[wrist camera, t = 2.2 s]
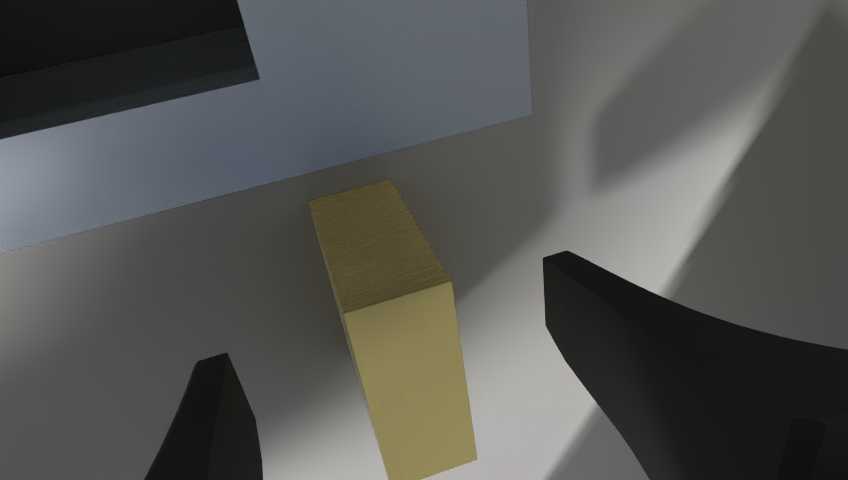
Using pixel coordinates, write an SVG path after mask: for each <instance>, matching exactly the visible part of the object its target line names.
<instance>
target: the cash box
mask: <svg viewBox="0 0 848 480" xmlns="http://www.w3.org/2000/svg"><path fill="white" fill-rule="evenodd" d="M237 2H238V5H239V9H240V12H241V15H242V19H243V22H244V25H243V26H238V27H234V28H229V29H224V30H220V31H215V32H210V33H206V34H201V35H196V36H192V37H187V38H182V39H178V40H173V41H168V42H164V43H159V44H155V45H150V46H145V47H141V48H136V49H131V50H127V51H122V52H117V53H113V54H108V55H103V56H99V57H94V58H89V59H85V60H80V61H75V62H71V63H66V64H61V65H57V66H52V67H47V68H43V69H38V70H33V71H29V72H24V73H20V74H15V75H10V76H6V77H1V78H0V253H3V252H7V251H11V250H15V249H19V248H23V247H26V246H30V245H34V244H38V243H42V242H46V241H49V240H53V239H57V238H61V237H65V236H69V235H72V234H76V233H80V232H84V231H88V230H92V229H96V228H99V227H103V226H107V225H111V224H115V223H119V222H122V221H126V220H130V219H134V218H138V217H142V216H146V215H149V214H153V213H157V212H161V211H165V210H169V209H172V208H176V207H180V206H184V205H188V204H192V203H195V202H199V201H203V200H207V199H211V198H215V197H219V196H222V195H226V194H230V193H234V192H238V191H242V190H245V189H249V188H253V187H257V186H261V185H265V184H268V183H272V182H276V181H280V180H284V179H288V178H292V177H295V176H299V175H303V174H307V173H311V172H315V171H318V170H322V169H326V168H330V167H334V166H338V165H342V164H345V163H349V162H353V161H357V160H361V159H365V158H368V157H372V156H376V155H380V154H384V153H388V152H391V151H395V150H399V149H403V148H407V147H411V146H415V145H418V144H422V143H426V142H430V141H434V140H438V139H441V138H445V137H449V136H453V135H457V134H461V133H464V132H468V131H472V130H476V129H480V128H484V127H488V126H491V125H495V124H499V123H503V122H507V121H511V120H514V119H518V118H522V117H526V116H530V115H532V96H531V76H530V55H529V35H528V14H527V0H237Z"/></svg>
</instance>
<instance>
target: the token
mask: <svg viewBox="0 0 848 480" xmlns="http://www.w3.org/2000/svg"><path fill="white" fill-rule="evenodd" d="M308 204H309V207H310V211H311V214H312V218H313V222H314V225H315V229H316V232H317V236H318V240H319V243H320V247H321V250H322V254H323V258H324V261H325V265H326V268H327V272H328V276H329V279H330V283H331V286H332V290H333V294H334V297H335V301H336V304H337V308H338V311H339V315H340V319H341V322H342V326H343V329H344V333H345V337H346V340H347V344H348V347H349V351H350V355H351V358H352V361H353V365H354V368H355V371H356V375H357V378H358V381H359V384H360V388H361V391H362V394H363V398H364V401H365V404H366V407H367V411H368V414H369V417H370V421H371V424H372V427H373V430H374V434H375V437H376V440H377V443H378V447H379V450H380V453H381V457H382V460H383V463H384V466H385V470H386V473H387V476H388V480H421V479H424V478H426V477H429V476H432V475H435V474H438V473H440V472H443V471H446V470H449V469H452V468H454V467H457V466H460V465H463V464H466V463H468V462H471V461H474V460H477V452H476V446H475V439H474V432H473V425H472V418H471V411H470V404H469V397H468V391H467V384H466V377H465V370H464V363H463V356H462V349H461V343H460V336H459V329H458V322H457V315H456V308H455V301H454V294H453V288H452V281H451V280H450V278H449V276H448V275H447V273H446V271H445V270H444V268H443V266H442V265H441V263H440V261H439V260H438V258H437V256H436V255H435V253H434V251H433V250H432V248H431V246H430V245H429V243H428V241H427V240H426V238H425V236H424V235H423V233H422V231H421V230H420V228H419V226H418V225H417V223H416V221H415V220H414V218H413V216H412V215H411V213H410V211H409V210H408V208H407V206H406V205H405V203H404V201H403V200H402V198H401V196H400V195H399V193H398V191H397V190H396V188H395V186H394V185H393V183H392V181H391V180H390V179H389V180H385V181H381V182H378V183H374V184H370V185H366V186H363V187H359V188H355V189H351V190H348V191H344V192H340V193H337V194H333V195H329V196H325V197H322V198H318V199H314V200H310V201H308Z"/></svg>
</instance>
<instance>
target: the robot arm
mask: <svg viewBox="0 0 848 480" xmlns="http://www.w3.org/2000/svg"><path fill="white" fill-rule="evenodd" d="M543 276H544V298H545V321H546V327H547V329H548V331H549V333H550V334H551V336H552V338H553V340H554V342H555V344H556V345H557V347H558V349H559V351H560V352H561V354H562V356H563V357H564V359H565V361H566V362H567V364H568V365H569V366H570V368H571V369H572V370H573V372H574V373H575V374H576V376H577V377H578V378H579V380H580V381H581V382H582V384H583V385H584V386H585V388H586V389H587V390H588V392H589V393H590V394H591V396H592V397H593V398H594V400H595V401H596V402H597V404H598V405H599V406H600V407H601V409H602V410H603V411H604V413H605V414H606V415H607V416H608V418H609V419H610V421H611V422H612V423H613V425H614V426H615V427H616V428H617V430H618V431H619V432H620V433H621V435H622V437H623V438H624V439H625V441H626V442H627V444H628V445H629V447H630V448H631V450H632V451H633V453H634V454H635V456H636V458H637V459H638V461H639V462H640V464H641V466H642V468H643V469H644V471H645V472H646V474H647V476H648V478H649V479H650V480H848V350H846V349H840V348H834V347H829V346H823V345H818V344H813V343H808V342H803V341H798V340H794V339H789V338H785V337H780V336H777V335H773V334H769V333H765V332H761V331H757V330H754V329H750V328H747V327H743V326H740V325H736V324H733V323H730V322H727V321H724V320H721V319H718V318H715V317H712V316H709V315H706V314H703V313H701V312H698V311H695V310H693V309H690V308H687V307H685V306H683V305H680V304H678V303H675V302H673V301H671V300H668V299H666V298H663V297H661V296H659V295H657V294H655V293H652V292H650V291H648V290H646V289H644V288H641V287H639V286H637V285H635V284H633V283H631V282H629V281H627V280H625V279H623V278H621V277H619V276H617V275H615V274H613V273H611V272H609V271H607V270H605V269H603V268H601V267H599V266H597V265H595V264H593V263H592V262H590V261H588V260H586V259H584V258H582V257H580V256H578V255H576V254H574V253H572V252H569V251H563V252H560V253H557V254H553V255H550V256H547V257H544V258H543ZM144 480H263V471H262V458H261V451H260V445H259V438H258V432H257V426H256V420H255V417H254V414H253V412H252V410H251V407H250V405H249V403H248V400H247V398H246V396H245V393H244V391H243V389H242V386H241V384H240V381H239V379H238V377H237V374H236V372H235V370H234V367H233V365H232V363H231V360H230V358H229V355H228V353H224V354H220V355H217V356H214V357H210V358H207V359H204V360H200V361H198V362H197V364H196V365H195V367H194V369H193V372H192V375H191V377H190V380H189V383H188V385H187V388H186V391H185V393H184V396H183V398H182V401H181V403H180V405H179V408H178V410H177V413H176V415H175V417H174V419H173V422H172V424H171V426H170V428H169V431H168V433H167V435H166V437H165V439H164V442H163V444H162V446H161V448H160V450H159V452H158V454H157V456H156V458H155V460H154V462H153V464H152V466H151V467H150V469H149V471H148V473H147V475H146V477H145V479H144Z"/></svg>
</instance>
